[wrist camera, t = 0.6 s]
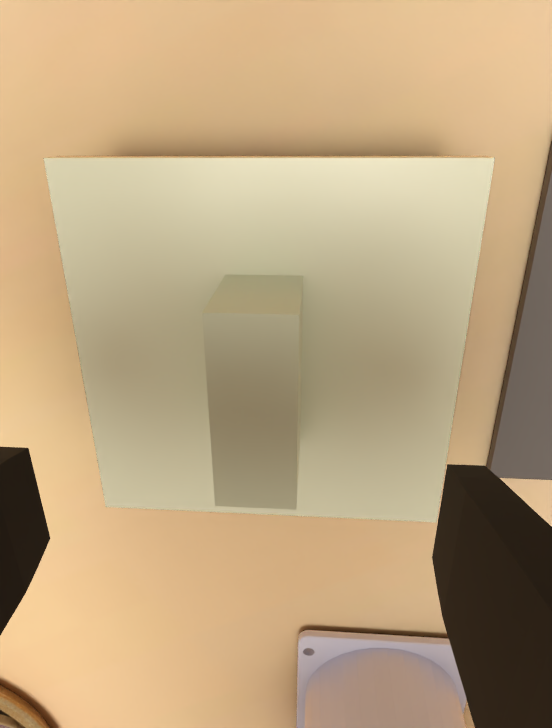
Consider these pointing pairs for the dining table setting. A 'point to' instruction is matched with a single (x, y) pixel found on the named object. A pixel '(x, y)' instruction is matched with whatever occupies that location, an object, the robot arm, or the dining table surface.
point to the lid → (271, 326)
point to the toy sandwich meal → (18, 712)
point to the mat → (529, 365)
